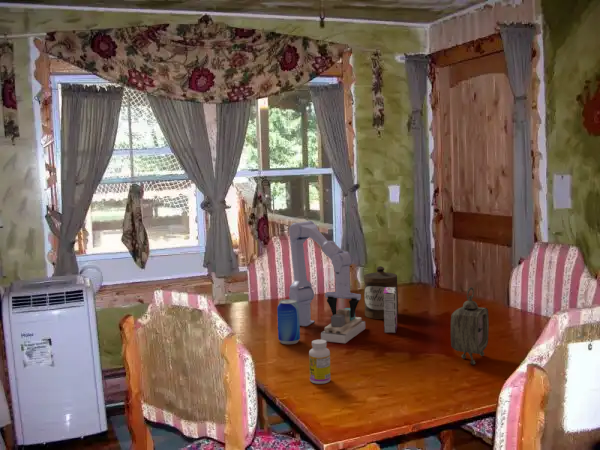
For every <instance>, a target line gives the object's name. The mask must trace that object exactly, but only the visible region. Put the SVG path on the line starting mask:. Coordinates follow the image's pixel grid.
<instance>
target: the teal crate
mask: <svg viewBox="0 0 600 450" xmlns="http://www.w3.org/2000/svg"><path fill="white" fill-rule="evenodd" d="M344 309H349V316H350V307H345V308H344ZM355 317H356V313H355V314H354V317H353V318H351V316H350V321H352V320H353V319H355Z"/></svg>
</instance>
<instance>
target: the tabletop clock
mask: <svg viewBox="0 0 600 450" xmlns="http://www.w3.org/2000/svg"><path fill="white" fill-rule="evenodd" d="M470 291H472V295H469V294H470ZM474 295H475V290H474V287H469V288H468V289H467V292H466V299H467V300H465V301H464V302H463V304H462V306H461V307H458V308H457V309H455V310H454V311H453V313H451V316H450V345H451V346H450V347H451V348H452V349H453V350H455V351H456V352H463V354H461V358H462V359H466V358H467V355H466V353H467V354H468V355H469V356H470V364H471V365H472V366H473V365H476V360H475V359H474V358H473V357H474V356H473V354H475V355H476V354H477V355H480V356H481V357H484V355H485V349H487V347H488V345H489V328H490V327H489V326H490V325H489V309H488V308H487V307H479V306H478V303H477V302H476V301H474V300H473V299H474Z"/></svg>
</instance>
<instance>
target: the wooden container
mask: <svg viewBox="0 0 600 450" xmlns="http://www.w3.org/2000/svg"><path fill="white" fill-rule="evenodd" d="M375 269H376V272H371V273H370V272H369V273H365V274H364V275H363V281H364V316H365V317H366V318H368V319H374V320H384V306H383V292H384V289H385V288H386V287H395V288H396V301H397V317H399V293H398V292H399V291H398V275H397V274H396V273H392V272H385V267H384V266H377V267H376V268H375Z"/></svg>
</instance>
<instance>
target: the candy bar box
mask: <svg viewBox="0 0 600 450" xmlns="http://www.w3.org/2000/svg"><path fill="white" fill-rule="evenodd" d="M383 306H384V319H383V332H384V333H385V334H396V332H397V328H398V316H397V301H396V288H395V287H386V288H385V289H384V292H383Z"/></svg>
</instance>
